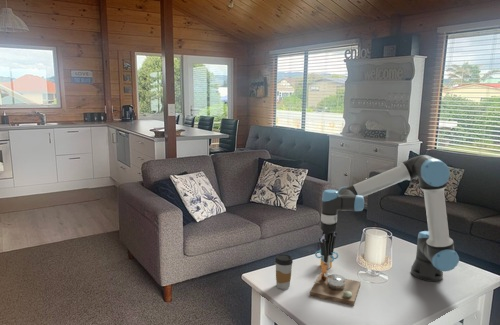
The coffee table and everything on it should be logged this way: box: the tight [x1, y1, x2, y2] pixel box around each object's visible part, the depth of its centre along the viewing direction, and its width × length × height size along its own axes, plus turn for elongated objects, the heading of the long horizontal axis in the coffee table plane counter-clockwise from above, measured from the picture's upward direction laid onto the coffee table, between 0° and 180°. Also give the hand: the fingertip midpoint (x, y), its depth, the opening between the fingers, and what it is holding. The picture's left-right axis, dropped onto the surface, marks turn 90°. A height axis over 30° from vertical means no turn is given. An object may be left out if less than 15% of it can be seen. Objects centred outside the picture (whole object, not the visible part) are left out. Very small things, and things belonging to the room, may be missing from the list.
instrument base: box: [309, 273, 361, 306], centre depth 184 cm, size 20×20×4 cm
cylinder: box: [314, 248, 339, 269], centre depth 208 cm, size 12×10×15 cm
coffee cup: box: [274, 253, 293, 290], centre depth 186 cm, size 8×8×15 cm
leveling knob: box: [320, 263, 346, 290], centre depth 185 cm, size 13×8×8 cm, turn 35°
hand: (326, 267), depth 190 cm, fingers closed
